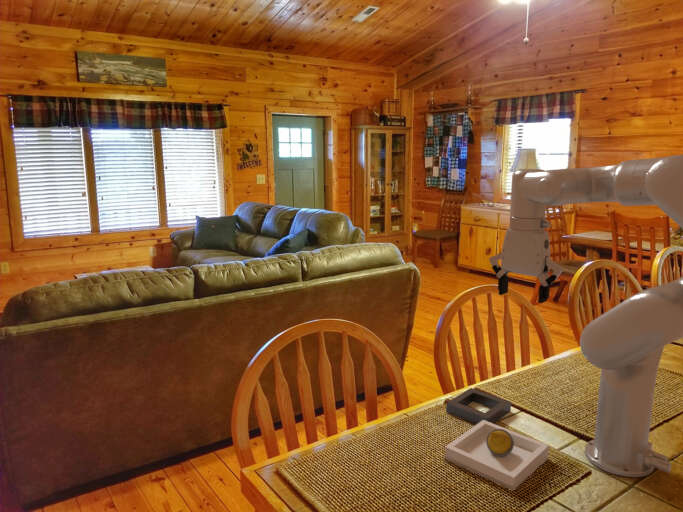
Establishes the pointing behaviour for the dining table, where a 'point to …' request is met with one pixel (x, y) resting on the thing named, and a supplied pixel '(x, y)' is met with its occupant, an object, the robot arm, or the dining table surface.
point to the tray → (500, 470)
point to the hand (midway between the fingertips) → (522, 297)
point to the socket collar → (472, 395)
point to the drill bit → (500, 442)
